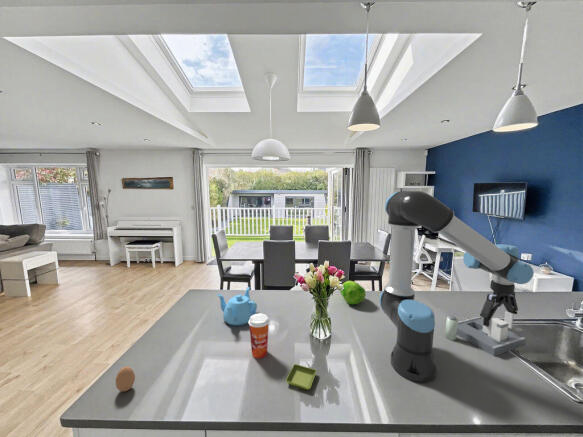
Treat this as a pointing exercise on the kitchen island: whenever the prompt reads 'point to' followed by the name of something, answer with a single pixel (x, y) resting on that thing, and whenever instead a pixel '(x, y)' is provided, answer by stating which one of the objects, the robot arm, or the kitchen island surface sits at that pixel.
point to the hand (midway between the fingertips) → (497, 329)
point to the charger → (499, 330)
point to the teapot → (238, 309)
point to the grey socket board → (487, 337)
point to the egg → (125, 379)
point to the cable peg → (451, 328)
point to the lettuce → (353, 292)
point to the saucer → (301, 376)
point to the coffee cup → (259, 334)
